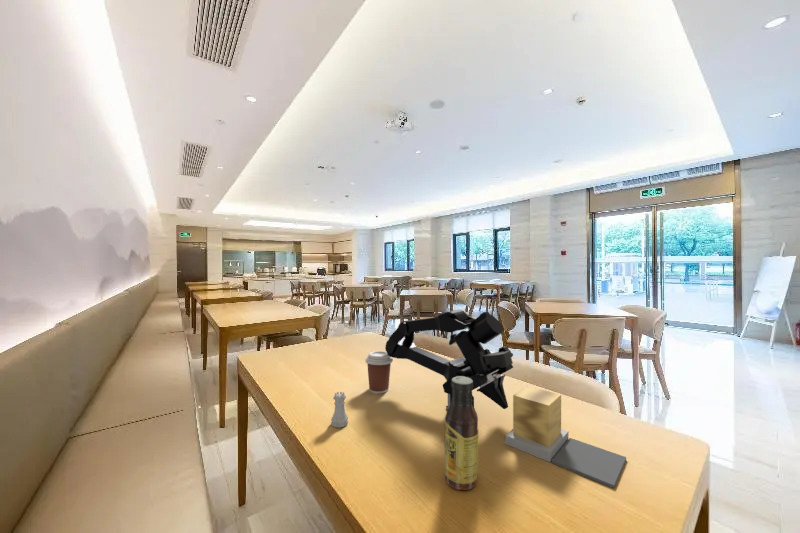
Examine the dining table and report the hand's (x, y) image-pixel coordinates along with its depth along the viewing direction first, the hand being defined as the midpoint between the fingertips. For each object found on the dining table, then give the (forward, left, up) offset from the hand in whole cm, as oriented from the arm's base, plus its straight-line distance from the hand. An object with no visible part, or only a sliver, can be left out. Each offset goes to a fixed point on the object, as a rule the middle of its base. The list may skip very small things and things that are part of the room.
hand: (506, 408), depth 80 cm
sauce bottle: (-17, -18, -6) cm, 25 cm away
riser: (+5, -6, -5) cm, 9 cm away
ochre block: (+5, -6, -3) cm, 8 cm away
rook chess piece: (-42, +7, -6) cm, 43 cm away
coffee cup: (-31, +29, -6) cm, 43 cm away
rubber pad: (+12, -14, -5) cm, 19 cm away
